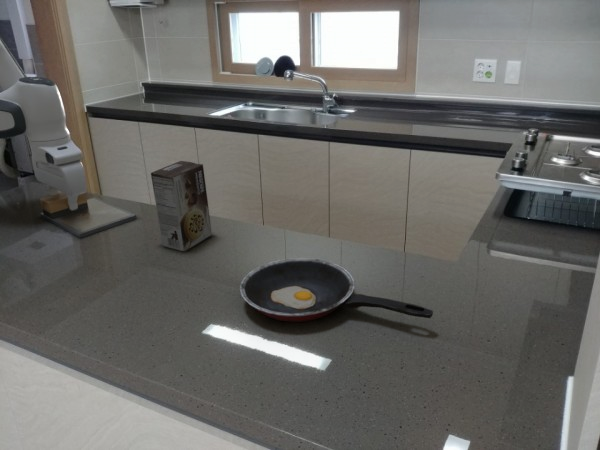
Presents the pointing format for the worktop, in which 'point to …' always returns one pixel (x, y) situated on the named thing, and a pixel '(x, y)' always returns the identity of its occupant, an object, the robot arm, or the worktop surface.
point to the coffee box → (181, 204)
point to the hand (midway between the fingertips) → (65, 205)
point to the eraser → (61, 205)
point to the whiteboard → (92, 218)
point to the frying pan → (310, 291)
